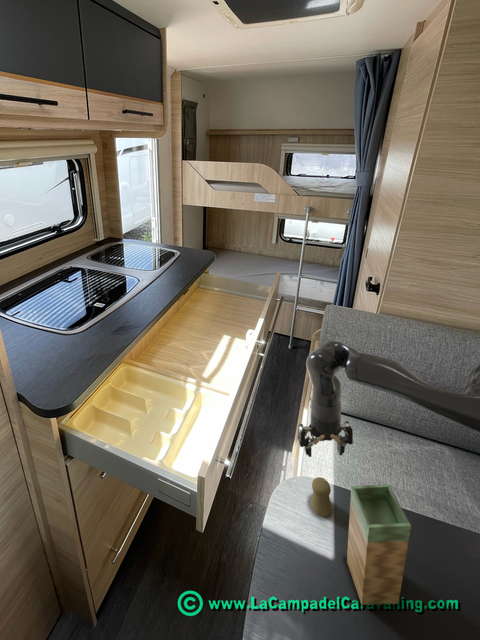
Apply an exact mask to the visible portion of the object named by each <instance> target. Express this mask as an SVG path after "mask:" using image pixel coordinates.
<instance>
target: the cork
mask: <svg viewBox="0 0 480 640" xmlns="http://www.w3.org/2000/svg"><path fill="white" fill-rule="evenodd" d="M311 489H312V496H311V501H310V507H311V509H312V511H313V512H314V513H315V514H316V515H317V516H320V517H328V516H329V515H330V514H331V512H332V505H331V500H330V495H331V492H332V491H331V485H330V483H329V482H328V480H327V479H326V478H324V477H319V476H317V477H315V478H313V480H312V483H311Z"/></svg>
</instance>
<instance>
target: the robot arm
mask: <svg viewBox="0 0 480 640" xmlns="http://www.w3.org/2000/svg"><path fill="white" fill-rule="evenodd" d="M305 362H306V363H305V366H306V370H307V374H308V377H309V380H310V383H311V396H310V405H309V406H310V423H309V425H308V426H307V425H306V426H304V424H302V423H299V424H298V427H297V428H298V429H297V440H298V444H299V447H300V448H304V452H305V454H306V456H308V458H312V447H313V446H314V445H315V446H316V445H317V444H319V442H324V441H327V442H328V441H329V442H330V441H331V442H332V441H333V440H334V441H335V442H336V450H337V453H338V455H339V456H343V454H344V453H345V452H346V451H345V450H346V446H347V445H353V444H354V439H353V438H354V437H353V436H354V435H353V434H354V433H353V431H354V430H353V427H352V425H351V424H350V421H348V420H345V421H344V422H343V423H341V421H342V399H341V398H342V384H341V381H340V379H339V378H338V376H336V374H337V373H338V372H339V371H340V370H342V369H344V371H345V375H346V377H347V378H348V380H349V381H351V382H352V383H355V384H357V385H360V386H365V387H367V388H371V389H374V390H378V391H380V392H384V393H387V394H390V395H392V396H396V397H398V398H401V399H403V400H405V401H408V402H410V403H413V404H414V405H417V406H419V407H421V408H423V409H425V410H427V411H429V412H431V413H434V414H436V415H439V416H441V417H443V418H445V419H448V420H450V421H452V422H454V423H456V424H458V425H461V426H463V427H466V428H468V429H470V430H473V431H475V432H476V433H480V363H478V364H476V365H475V366H473V368H472V369H471V370H470V371H469V373H468V374H467V377H466V378H465V381H464V384H463V386H462V389H461V392H456V391H451V390H446V389H442V388H439V387H436V386H434V385H432V384H430V383H428V382H426V381H424V380H423V379H421V378H420V377H418V376H417V375H416V374H415V373H414V372H412V371H410V370H409V369H408V368H407V367H405V366H404V365H403V364H401V363H400V362H397V361H395V360H393V359H390V358H387V357H385V356H380V355H375V354H370V353H366V352H360V351H359V350H357V349H355V348H353V347H351V346H349V345H347V344H345V343H342V342H340V341H336V340H327V341H326V340H325V341H324V342H322V343H321V344H320V345H319V346H317V347H316V348H315V349H313V350H312V351H311V352H310V353H309V355H308V356H307V358H306V361H305ZM342 431H343V432H344V436H343V435H341V434H340V433H341V432H342Z"/></svg>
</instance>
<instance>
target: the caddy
mask: <svg viewBox="0 0 480 640" xmlns="http://www.w3.org/2000/svg"><path fill="white" fill-rule="evenodd" d="M349 501H350V502H349V503H350V505H349V518H348V519H349V520H348V536H347V537H348V538H347V553H346V563H347V565H348V569H349V572H350V574H351V578H352V580H353V584H354V586H355V589H356V593H357V596H358V598H359V601H360V604H361V605H362V606H365V605H398V604H399V603H400V596H401V590H402V584H403V577H404V572H405V568H406V567H405V566H406V561H407V560H406V559H407V554H408V548H409V542H410V536H411V530H412V524H411V523H410V521H409V519H408V517H407V515H406V514H405V512H404V509H403V508H402V506H401V504H400V501H399V500H398V499H397V496H396V495H395V493H394V491H393V488H392V487H391V485H390V484H389V483H387V484H386V483H385V484H369V485H354V486H353V485H352V486H351V487H350V500H349Z"/></svg>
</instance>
